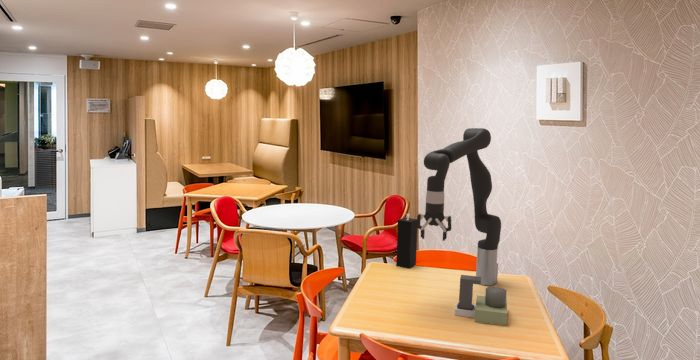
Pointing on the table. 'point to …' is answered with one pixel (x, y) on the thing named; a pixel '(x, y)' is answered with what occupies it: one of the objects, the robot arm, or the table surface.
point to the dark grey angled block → (467, 291)
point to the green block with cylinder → (488, 307)
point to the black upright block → (406, 242)
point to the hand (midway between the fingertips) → (433, 239)
